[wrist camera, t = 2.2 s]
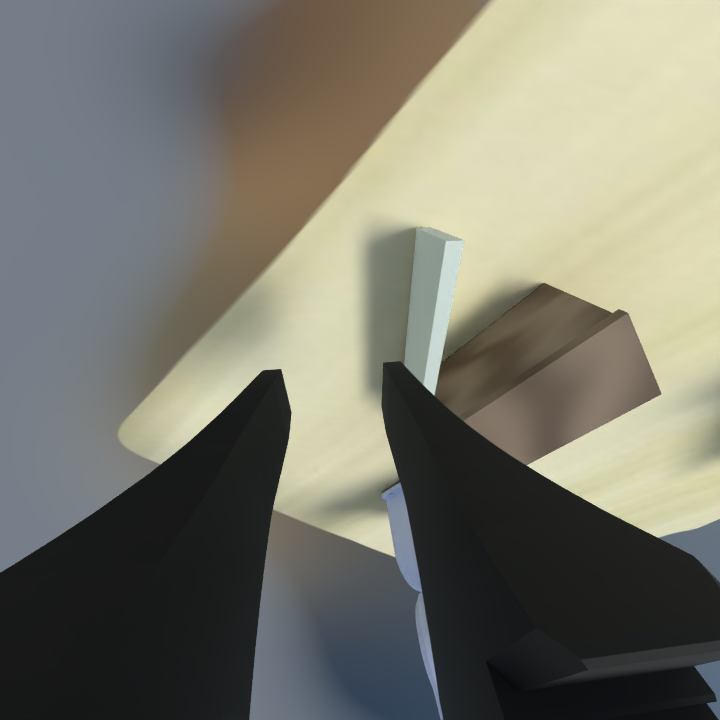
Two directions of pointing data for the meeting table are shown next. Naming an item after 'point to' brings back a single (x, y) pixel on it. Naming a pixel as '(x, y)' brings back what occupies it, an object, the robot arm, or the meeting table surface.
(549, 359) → the cabinet
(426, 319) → the cabinet door
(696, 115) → the meeting table surface
